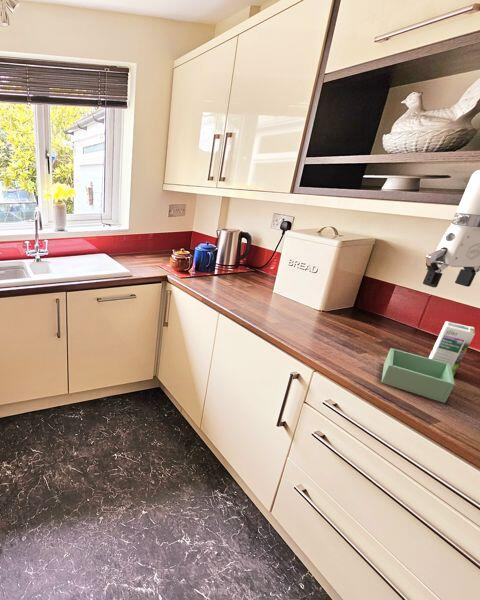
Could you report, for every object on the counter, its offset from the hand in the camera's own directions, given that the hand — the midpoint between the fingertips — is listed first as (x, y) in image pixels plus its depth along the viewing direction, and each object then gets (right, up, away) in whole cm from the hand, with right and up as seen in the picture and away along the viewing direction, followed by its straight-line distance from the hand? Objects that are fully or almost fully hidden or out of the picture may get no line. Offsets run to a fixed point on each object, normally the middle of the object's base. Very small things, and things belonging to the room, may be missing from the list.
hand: (445, 285), depth 91 cm
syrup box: (+8, -25, +9) cm, 28 cm away
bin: (-6, -27, +3) cm, 28 cm away
